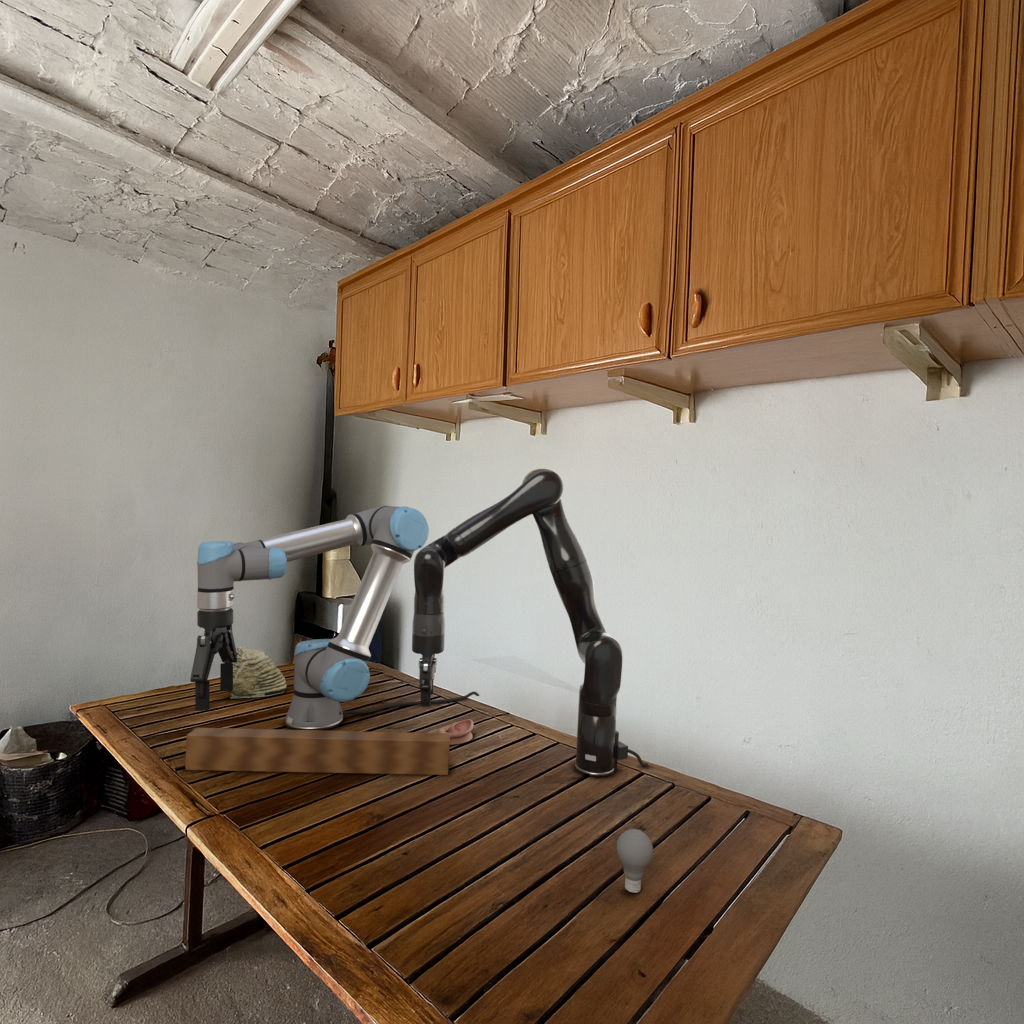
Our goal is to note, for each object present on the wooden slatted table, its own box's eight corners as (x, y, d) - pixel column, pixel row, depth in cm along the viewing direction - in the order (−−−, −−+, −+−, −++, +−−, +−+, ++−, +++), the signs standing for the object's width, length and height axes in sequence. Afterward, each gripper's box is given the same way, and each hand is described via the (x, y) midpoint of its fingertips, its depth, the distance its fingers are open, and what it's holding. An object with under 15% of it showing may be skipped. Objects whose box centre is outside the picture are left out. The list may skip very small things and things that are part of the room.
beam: (185, 770, 143) (186, 735, 143) (194, 760, 148) (196, 727, 148) (447, 775, 147) (449, 741, 147) (448, 766, 152) (450, 733, 152)
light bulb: (610, 879, 108) (613, 822, 108) (644, 879, 109) (647, 822, 109) (619, 902, 102) (622, 840, 102) (655, 901, 103) (658, 840, 103)
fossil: (218, 695, 195) (220, 647, 195) (278, 685, 208) (279, 640, 207) (228, 703, 189) (230, 653, 188) (289, 692, 201) (290, 645, 201)
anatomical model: (416, 727, 165) (431, 713, 176) (416, 742, 165) (430, 727, 176) (465, 733, 162) (477, 718, 174) (465, 748, 162) (476, 732, 174)
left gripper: (209, 620, 133) (209, 719, 134) (251, 599, 158) (250, 683, 159) (172, 619, 133) (172, 719, 134) (220, 598, 158) (220, 683, 159)
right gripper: (442, 638, 142) (441, 710, 142) (446, 625, 156) (444, 690, 156) (409, 637, 141) (407, 710, 142) (415, 625, 155) (413, 690, 156)
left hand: (215, 700), depth 146 cm, fingers open, 13 cm apart
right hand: (426, 699), depth 149 cm, fingers open, 8 cm apart
